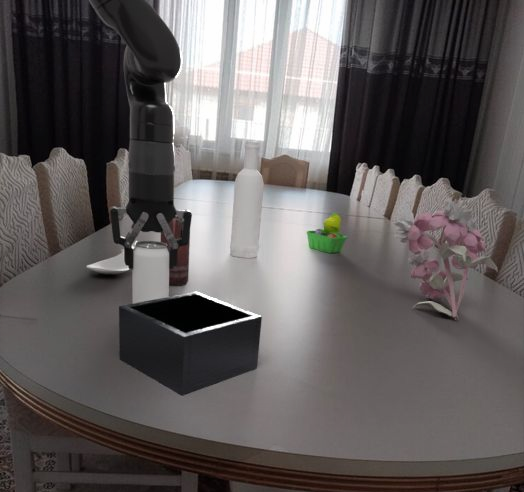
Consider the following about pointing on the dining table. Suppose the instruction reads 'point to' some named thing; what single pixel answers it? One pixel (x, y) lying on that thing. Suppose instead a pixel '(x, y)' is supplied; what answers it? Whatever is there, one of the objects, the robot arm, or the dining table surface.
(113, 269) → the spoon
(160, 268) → the can
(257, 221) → the bottle
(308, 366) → the dining table surface
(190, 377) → the basin
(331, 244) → the green easter basket
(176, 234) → the can
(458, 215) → the flower
